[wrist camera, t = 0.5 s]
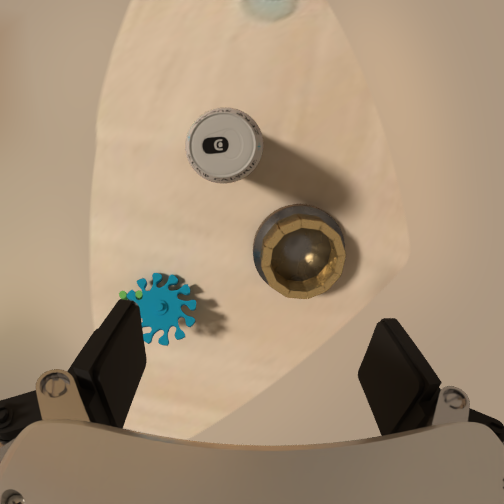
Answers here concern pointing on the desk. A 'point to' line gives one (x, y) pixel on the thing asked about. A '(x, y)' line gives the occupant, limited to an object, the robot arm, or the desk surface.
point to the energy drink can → (224, 145)
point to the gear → (161, 307)
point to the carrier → (299, 251)
